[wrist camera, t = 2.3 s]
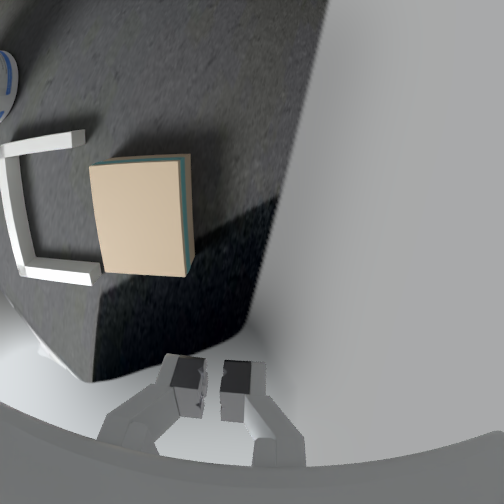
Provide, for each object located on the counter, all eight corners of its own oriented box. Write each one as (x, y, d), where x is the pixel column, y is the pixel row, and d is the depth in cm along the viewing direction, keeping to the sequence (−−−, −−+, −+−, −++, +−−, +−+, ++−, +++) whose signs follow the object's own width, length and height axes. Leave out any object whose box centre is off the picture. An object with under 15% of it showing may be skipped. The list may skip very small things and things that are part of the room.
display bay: (10, 142, 25) (-5, 146, 23) (84, 129, 25) (71, 131, 23) (30, 266, 32) (20, 276, 30) (101, 274, 32) (91, 285, 30)
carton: (111, 157, 27) (88, 165, 23) (191, 152, 26) (178, 160, 22) (122, 252, 31) (104, 272, 27) (195, 254, 31) (186, 277, 27)
